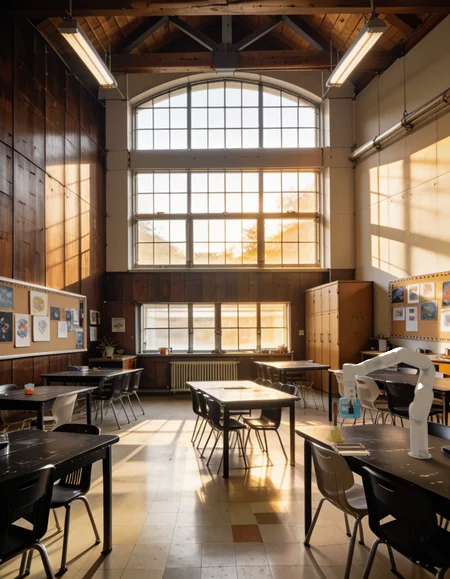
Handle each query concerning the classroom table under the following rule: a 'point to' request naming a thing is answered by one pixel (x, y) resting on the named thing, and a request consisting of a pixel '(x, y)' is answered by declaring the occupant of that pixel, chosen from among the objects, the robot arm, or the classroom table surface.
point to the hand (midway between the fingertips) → (349, 412)
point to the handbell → (335, 427)
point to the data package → (344, 409)
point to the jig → (350, 449)
